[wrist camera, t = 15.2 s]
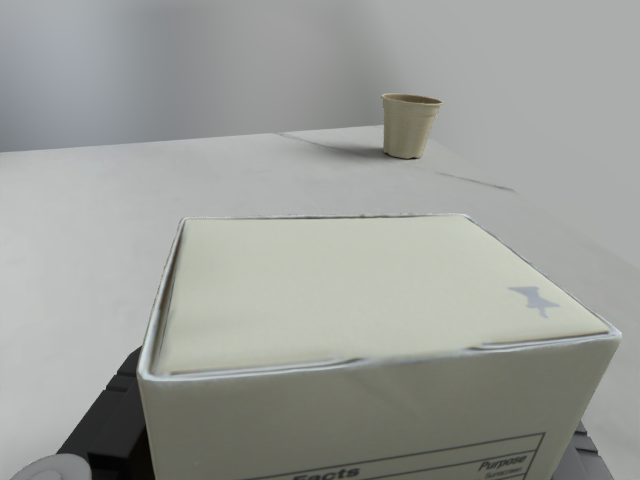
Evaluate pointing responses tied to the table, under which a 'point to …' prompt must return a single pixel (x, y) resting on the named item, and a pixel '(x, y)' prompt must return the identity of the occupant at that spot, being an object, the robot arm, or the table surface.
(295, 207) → the table surface
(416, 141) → the flower pot
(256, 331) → the cosmetic box
